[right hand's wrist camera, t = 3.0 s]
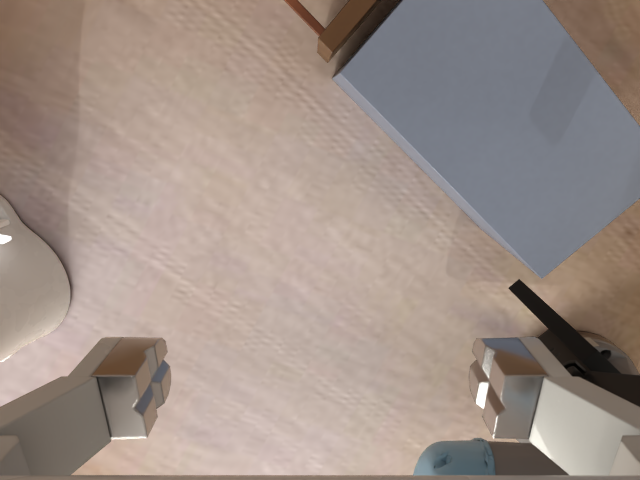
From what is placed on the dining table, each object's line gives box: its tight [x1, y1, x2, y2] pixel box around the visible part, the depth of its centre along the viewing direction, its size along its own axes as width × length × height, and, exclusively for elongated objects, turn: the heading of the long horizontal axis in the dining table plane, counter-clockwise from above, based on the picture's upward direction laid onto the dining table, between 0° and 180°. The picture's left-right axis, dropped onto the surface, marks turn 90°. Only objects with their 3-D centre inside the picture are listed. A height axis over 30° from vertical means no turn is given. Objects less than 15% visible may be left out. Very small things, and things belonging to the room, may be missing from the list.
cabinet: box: [332, 0, 640, 279], centre depth 31 cm, size 20×11×11 cm, turn 47°
